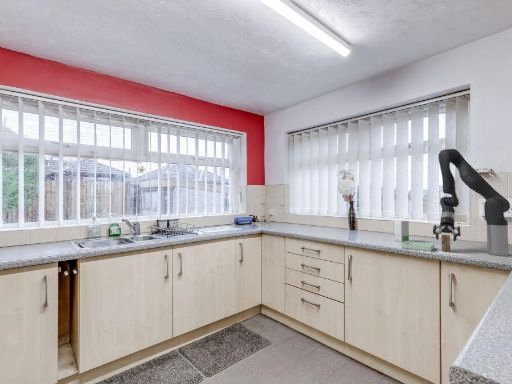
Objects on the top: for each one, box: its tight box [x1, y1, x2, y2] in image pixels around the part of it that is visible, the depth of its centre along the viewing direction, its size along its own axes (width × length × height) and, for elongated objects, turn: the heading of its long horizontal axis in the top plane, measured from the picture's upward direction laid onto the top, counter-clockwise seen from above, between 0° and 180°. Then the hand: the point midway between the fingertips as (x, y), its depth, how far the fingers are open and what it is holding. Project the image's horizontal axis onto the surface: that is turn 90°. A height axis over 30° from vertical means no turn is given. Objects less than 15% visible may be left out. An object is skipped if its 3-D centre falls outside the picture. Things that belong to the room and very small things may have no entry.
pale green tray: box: [401, 240, 435, 253], centre depth 177 cm, size 16×14×3 cm
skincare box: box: [394, 219, 410, 243], centre depth 207 cm, size 8×7×16 cm
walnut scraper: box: [441, 233, 451, 253], centre depth 168 cm, size 4×4×10 cm
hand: (445, 239), depth 169 cm, fingers open, 8 cm apart
